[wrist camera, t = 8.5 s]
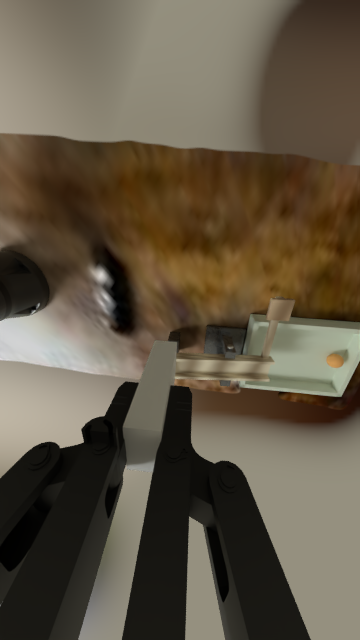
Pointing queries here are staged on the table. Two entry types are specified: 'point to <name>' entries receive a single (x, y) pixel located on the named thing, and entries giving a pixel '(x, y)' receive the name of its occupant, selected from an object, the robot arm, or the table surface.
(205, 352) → the stand
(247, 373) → the lever
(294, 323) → the tray
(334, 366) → the ball
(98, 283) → the table surface
